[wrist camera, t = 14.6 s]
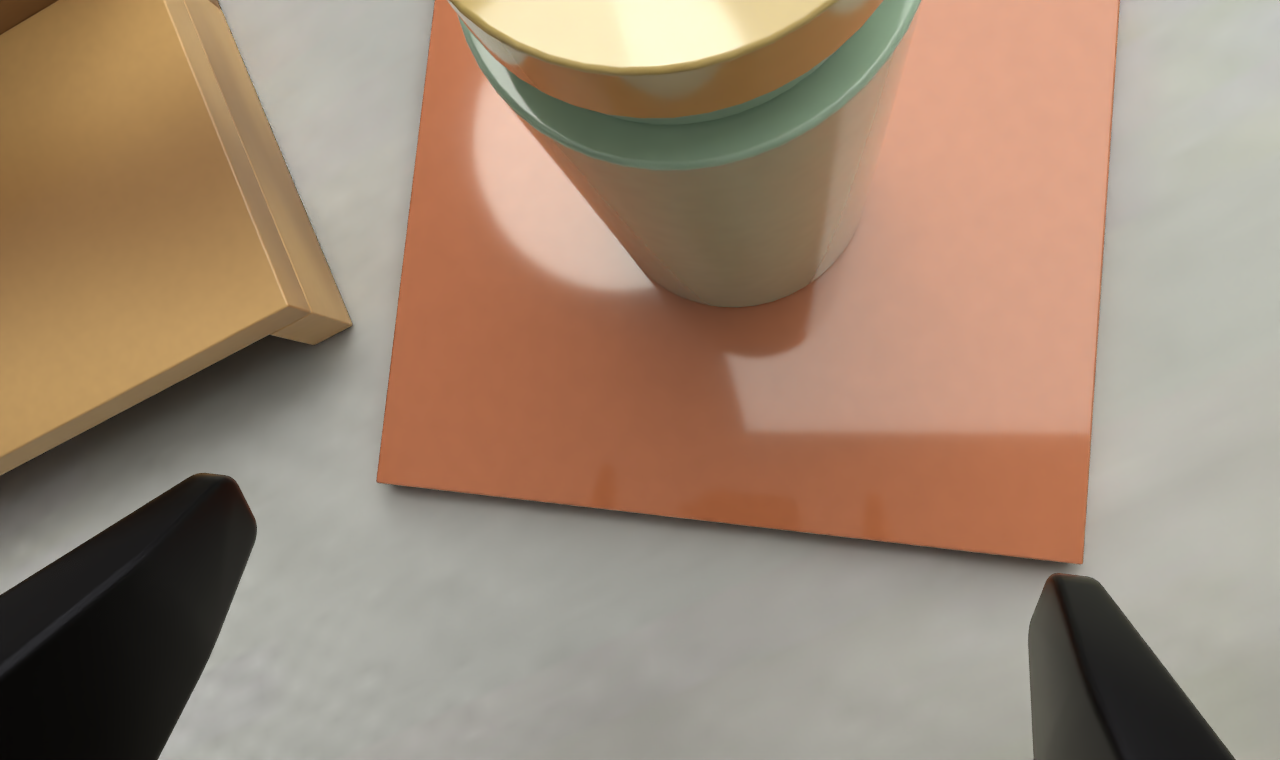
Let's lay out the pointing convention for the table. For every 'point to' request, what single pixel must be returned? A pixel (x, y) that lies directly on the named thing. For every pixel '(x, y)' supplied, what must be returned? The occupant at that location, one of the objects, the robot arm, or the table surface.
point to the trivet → (782, 315)
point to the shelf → (137, 214)
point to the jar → (706, 124)
